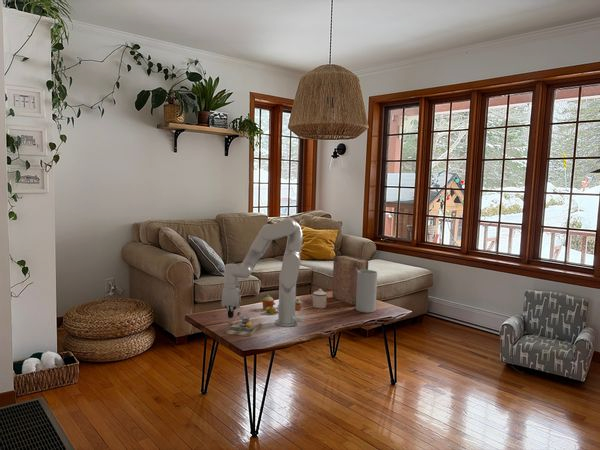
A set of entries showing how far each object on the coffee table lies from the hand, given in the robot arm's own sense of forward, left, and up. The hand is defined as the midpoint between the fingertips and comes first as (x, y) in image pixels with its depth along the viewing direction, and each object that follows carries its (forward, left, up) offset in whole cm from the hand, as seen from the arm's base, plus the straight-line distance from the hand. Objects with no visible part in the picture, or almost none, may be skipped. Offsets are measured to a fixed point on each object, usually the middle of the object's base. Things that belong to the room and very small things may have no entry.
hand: (230, 317), depth 262 cm
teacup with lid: (-41, -50, -3) cm, 65 cm away
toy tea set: (-20, -33, -3) cm, 39 cm away
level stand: (-12, +10, -3) cm, 16 cm away
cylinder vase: (-72, -51, -3) cm, 88 cm away
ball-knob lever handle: (-10, +5, -1) cm, 11 cm away
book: (-59, -70, -3) cm, 91 cm away
